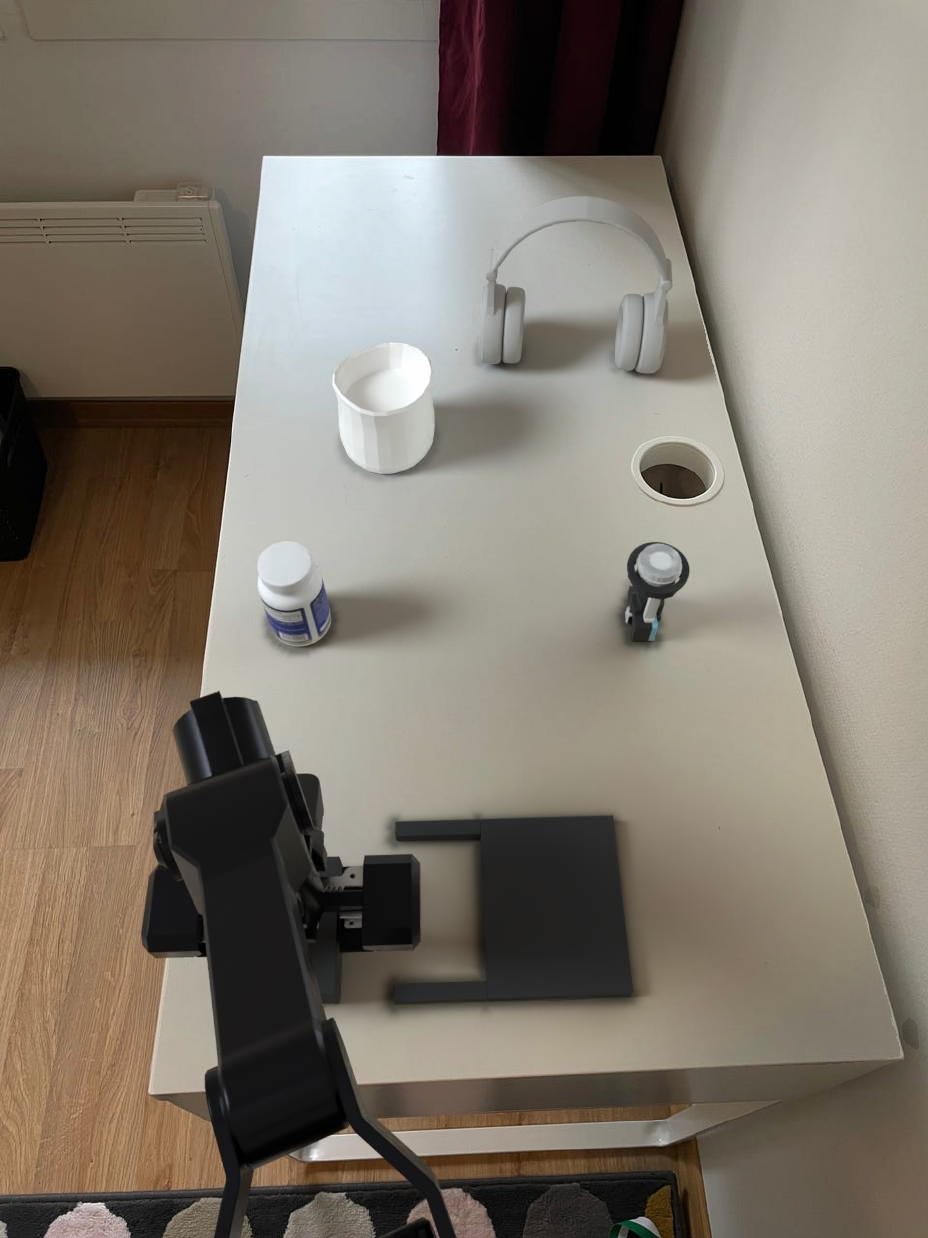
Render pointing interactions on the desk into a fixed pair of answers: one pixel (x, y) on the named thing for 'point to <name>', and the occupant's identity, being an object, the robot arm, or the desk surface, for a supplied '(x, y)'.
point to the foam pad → (328, 945)
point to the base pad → (539, 910)
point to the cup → (385, 406)
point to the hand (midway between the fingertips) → (302, 933)
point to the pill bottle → (293, 594)
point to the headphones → (637, 316)
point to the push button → (652, 585)
